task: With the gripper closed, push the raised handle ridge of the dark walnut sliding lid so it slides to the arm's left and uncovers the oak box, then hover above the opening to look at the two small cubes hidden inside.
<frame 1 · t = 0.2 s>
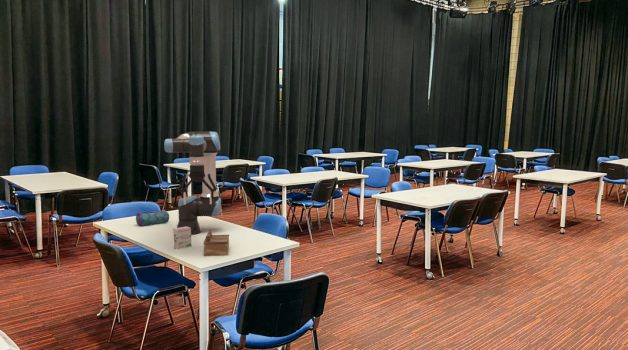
hand: (197, 204, 256), 27 cm above the table, fingers open, 13 cm apart
pencil case: (152, 224, 331), on the table
ink box: (182, 248, 270), on the table
oak box: (217, 252, 260), on the table
teal cube: (213, 250, 263), point 1 cm above the table, touching oak box
cream cube: (220, 252, 257), point 1 cm above the table, touching oak box
lid: (216, 236, 259), point 9 cm above the table, slide at 0.0 cm
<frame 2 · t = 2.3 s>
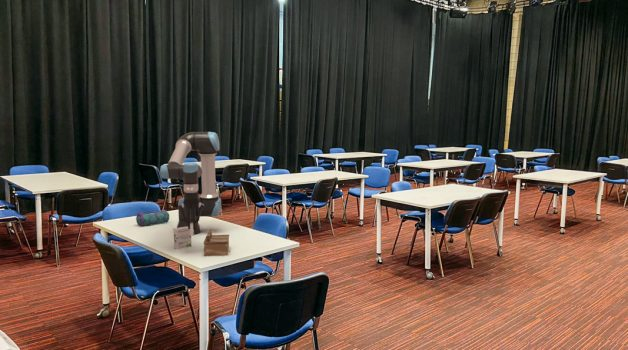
hand: (192, 234, 257), 10 cm above the table, fingers closed
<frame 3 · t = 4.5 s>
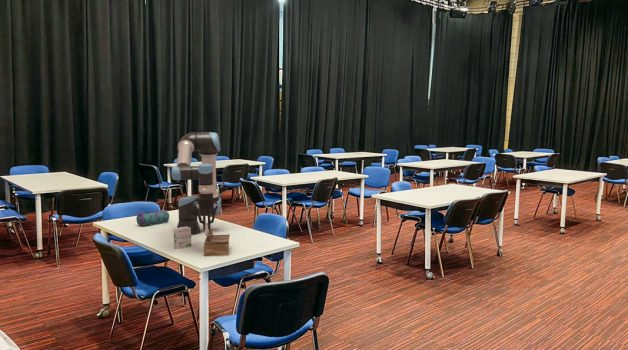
hand: (207, 235, 258), 10 cm above the table, fingers closed
lid: (217, 236, 259), point 9 cm above the table, slide at 0.4 cm, touching gripper
everything else where it was.
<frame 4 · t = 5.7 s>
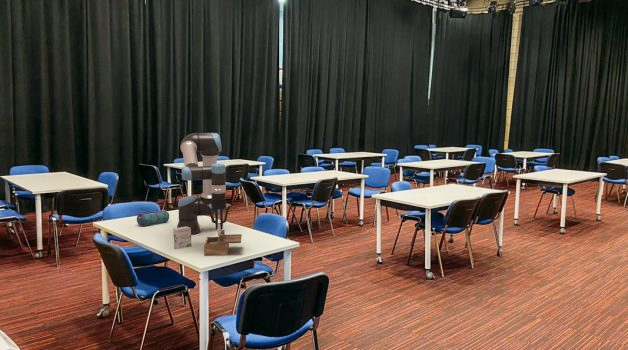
hand: (219, 235, 259), 10 cm above the table, fingers closed
lid: (229, 236, 260), point 9 cm above the table, slide at 7.0 cm, touching gripper
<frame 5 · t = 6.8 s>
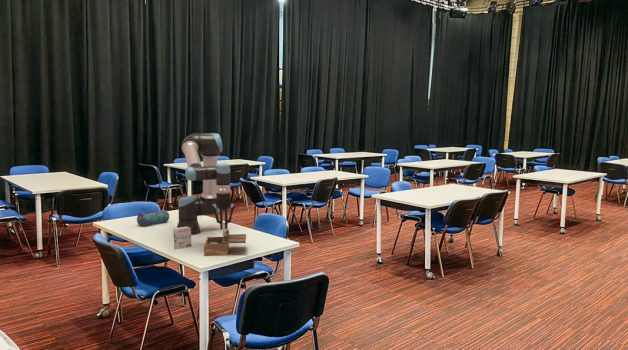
hand: (224, 235, 260), 10 cm above the table, fingers closed
lid: (234, 236, 260), point 9 cm above the table, slide at 9.5 cm, touching gripper
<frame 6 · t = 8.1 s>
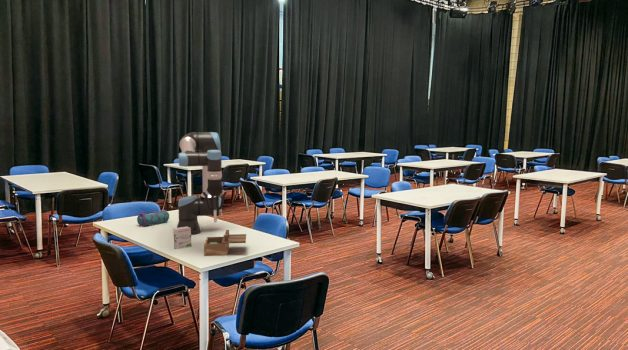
hand: (215, 221, 259), 17 cm above the table, fingers closed
lid: (234, 236, 260), point 9 cm above the table, slide at 9.5 cm
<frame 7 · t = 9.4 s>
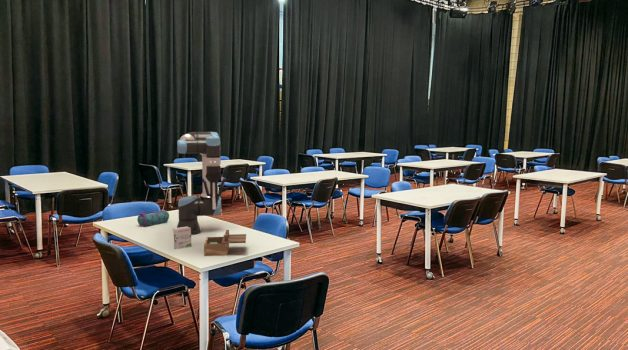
hand: (214, 208, 257), 24 cm above the table, fingers closed
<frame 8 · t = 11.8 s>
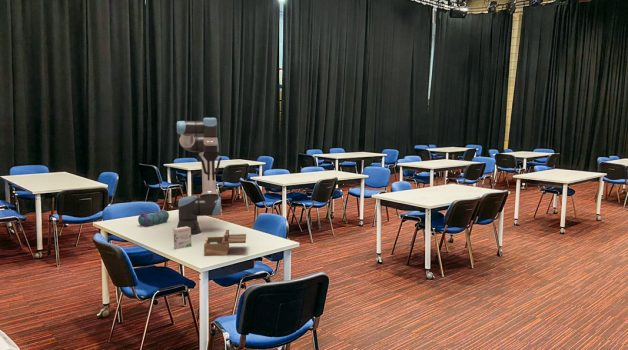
hand: (211, 186, 274), 34 cm above the table, fingers closed
at the end: lid slide at 9.5 cm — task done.
